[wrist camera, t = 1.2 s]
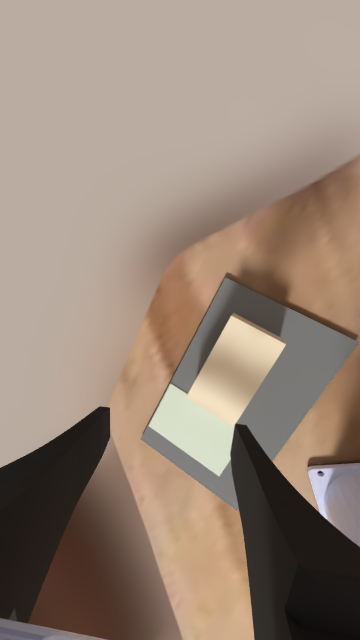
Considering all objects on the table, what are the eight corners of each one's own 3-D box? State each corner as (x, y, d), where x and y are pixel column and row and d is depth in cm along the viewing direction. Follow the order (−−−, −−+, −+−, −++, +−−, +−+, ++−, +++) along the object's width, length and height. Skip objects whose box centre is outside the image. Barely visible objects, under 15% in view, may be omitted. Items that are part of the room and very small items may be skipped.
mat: (225, 277, 21) (225, 277, 20) (356, 341, 18) (359, 342, 17) (142, 436, 25) (140, 439, 25) (236, 506, 22) (236, 511, 22)
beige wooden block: (234, 312, 20) (231, 315, 17) (280, 336, 19) (286, 344, 16) (195, 382, 22) (186, 396, 19) (235, 407, 21) (233, 427, 18)
